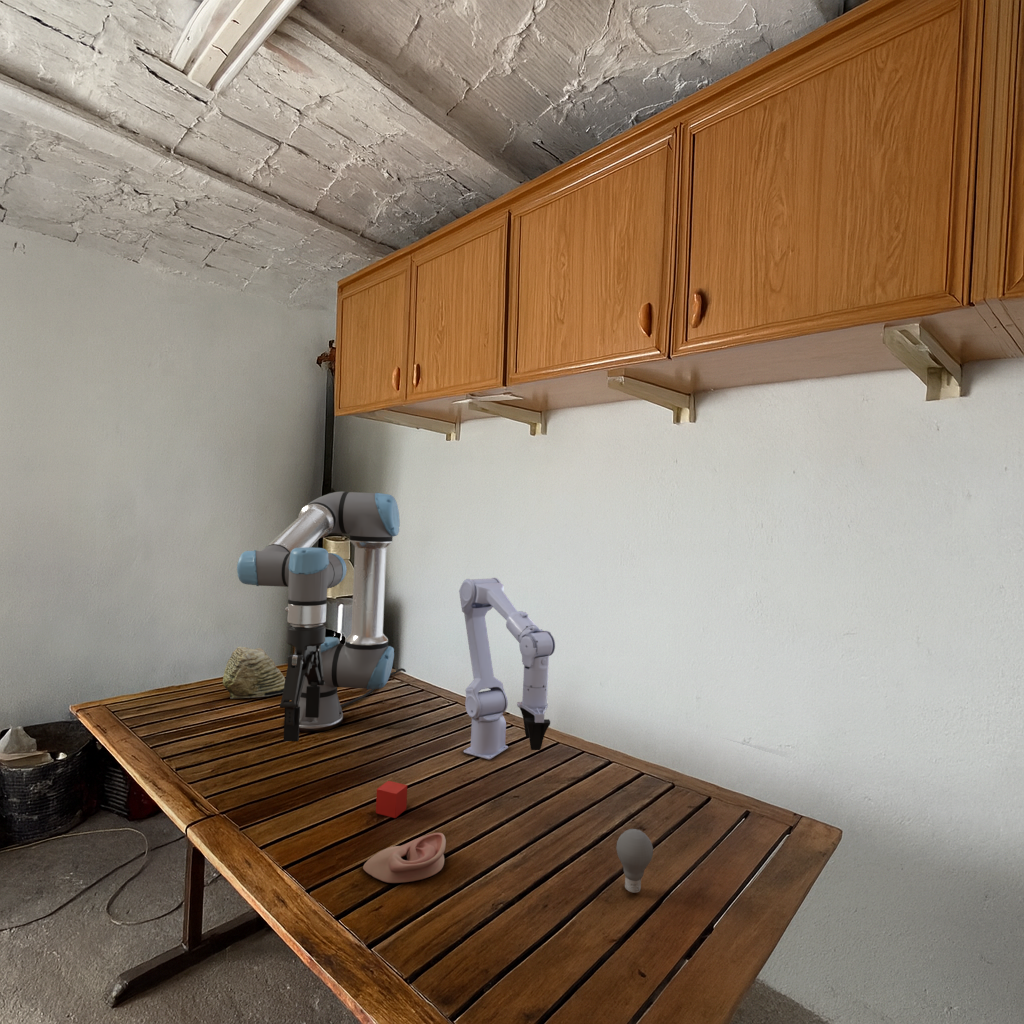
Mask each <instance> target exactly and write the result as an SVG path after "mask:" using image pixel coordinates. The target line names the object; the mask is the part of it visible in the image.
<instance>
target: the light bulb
mask: <svg viewBox="0 0 1024 1024" xmlns="http://www.w3.org/2000/svg"><path fill="white" fill-rule="evenodd" d="M615 849H616V854H617V857H618V859H619V861H620V863H621V865H622V867H623V873H624V874H623V875H624V876H625V878H624V888H625V890H627V891H628V892H630V893H634V894H635V893H639V892H640V891H641V889H642V887H641V886H642V879H643V877H644V875H645V871H646V868H647V867H648V866H649V864H650V863H651V861H652V859H653V855H654V847H653V843H652V841H651V838H649V836H648V835H647V834H646V833H645V832H643V831H642V830H641V829H636V828H629V829H627V830H625V831H623V832H622V833H621V834H620V835H619V837H618V839H617V841H616V847H615Z"/></svg>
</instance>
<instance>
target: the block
mask: <svg viewBox="0 0 1024 1024" xmlns="http://www.w3.org/2000/svg"><path fill="white" fill-rule="evenodd" d="M375 800H376V801H375V814H378V815H382V816H385V817H389V818H393V819H397V818H398V817H399V816H400V815H401V814H402V813H404V812H405V811H406V810H407V805H408V784H404V783H401V782H395V781H392V780H387V781H386V782H384V783H383V784H382V785H380V786H379V787H377V788H376V799H375Z"/></svg>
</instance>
